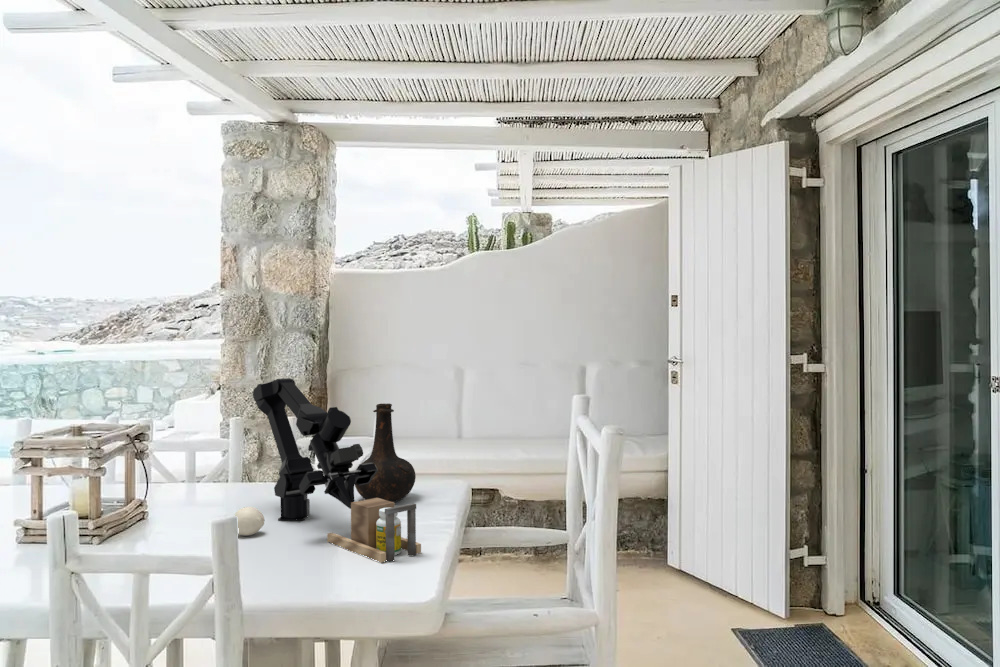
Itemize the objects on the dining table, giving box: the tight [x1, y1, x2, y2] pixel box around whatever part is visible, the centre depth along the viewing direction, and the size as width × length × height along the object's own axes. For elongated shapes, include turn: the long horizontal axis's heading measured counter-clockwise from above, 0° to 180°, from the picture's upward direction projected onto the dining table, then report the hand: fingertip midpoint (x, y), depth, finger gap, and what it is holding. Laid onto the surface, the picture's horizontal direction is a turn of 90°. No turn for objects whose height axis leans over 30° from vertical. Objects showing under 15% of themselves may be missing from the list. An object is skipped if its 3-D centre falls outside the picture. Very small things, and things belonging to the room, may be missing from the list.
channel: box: [326, 503, 422, 563], centre depth 163 cm, size 23×10×11 cm, turn 43°
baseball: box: [234, 506, 266, 537], centre depth 175 cm, size 7×7×7 cm
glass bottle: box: [354, 403, 416, 503], centre depth 211 cm, size 18×18×28 cm
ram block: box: [350, 498, 396, 549], centre depth 164 cm, size 7×7×10 cm
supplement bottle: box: [376, 507, 402, 556], centre depth 159 cm, size 5×5×10 cm
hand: (352, 507), depth 170 cm, fingers closed
